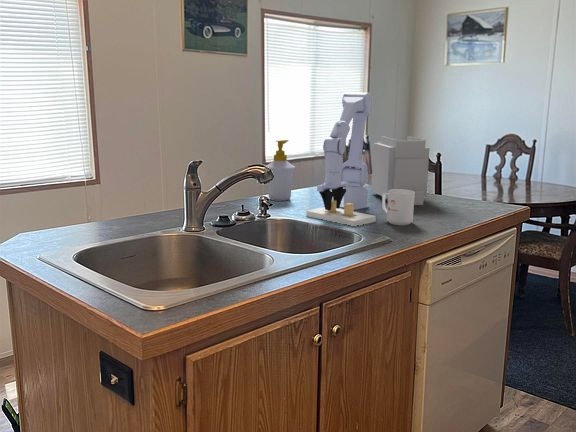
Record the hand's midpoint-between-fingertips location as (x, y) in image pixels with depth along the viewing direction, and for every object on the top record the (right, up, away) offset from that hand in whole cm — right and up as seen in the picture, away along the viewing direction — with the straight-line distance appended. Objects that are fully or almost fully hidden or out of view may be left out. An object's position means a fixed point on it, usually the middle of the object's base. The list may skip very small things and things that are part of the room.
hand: (332, 209), depth 199 cm
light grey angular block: (+32, +5, +39) cm, 50 cm away
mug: (+22, -5, -6) cm, 23 cm away
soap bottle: (-19, +4, +33) cm, 38 cm away
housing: (+3, -4, -2) cm, 5 cm away
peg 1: (0, -3, +1) cm, 3 cm away
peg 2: (+5, -4, -5) cm, 8 cm away
